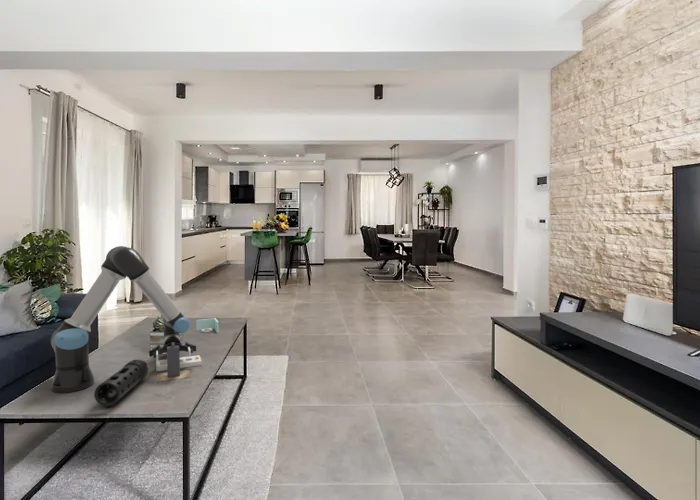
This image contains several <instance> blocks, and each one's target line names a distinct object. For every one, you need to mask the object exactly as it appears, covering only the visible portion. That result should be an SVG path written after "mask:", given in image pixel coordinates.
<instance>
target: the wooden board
mask: <svg viewBox="0 0 700 500" xmlns="http://www.w3.org/2000/svg"><path fill="white" fill-rule="evenodd" d="M187 378H192V374H191V371H190V369H184V370H180V376H176V377H169V378H168V375H167V372H162V373H156V384H157V383H159V382H163V383H164V382H166V381H169V382H171V381H173V380H177V379H179V380H180V379H183V380H184V379H187Z"/></svg>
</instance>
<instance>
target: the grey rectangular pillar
mask: <svg viewBox="0 0 700 500" xmlns="http://www.w3.org/2000/svg"><path fill="white" fill-rule="evenodd" d="M180 358H181V357H180V351H179V345H177V346H174V342H172V346H168V347H167V353H166V359H167V370H166V371H167V372H166V373H167V375H168V378H169V377H176V376H180V371H181V368H180Z"/></svg>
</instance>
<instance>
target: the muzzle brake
mask: <svg viewBox="0 0 700 500" xmlns="http://www.w3.org/2000/svg"><path fill="white" fill-rule="evenodd" d="M148 373H149V366H148V364H147V362H146V361H145V360H142V359H140V358H139V359H133V360H130V361H129V362H128V363H126V364H125V365H124V366H123V367H122V368H120V369H119V370H118V371H116V372H115V373H114V374H112V375H111V376H110V377H108V378H107V379H106V380H104V381H103V382H101V383H99V385H97V387H95V390H94V393H93V394H94V395H93V397H94V399H95V401H96V402H97V403H98V404H99V405H101V406H103V407H105V408H111V407H112V406H113V405H115V404H116V403H118V401H119V400H121V399H122V398H123V397H124V396H125V395H126V394H127V393H129V391H131V390H132V389H134V387H135V386H136V385H137V384H138V383H140V382H142V381H143V380H144V379H145V378H146V377H147V375H148Z"/></svg>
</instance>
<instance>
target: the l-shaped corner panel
mask: <svg viewBox="0 0 700 500" xmlns="http://www.w3.org/2000/svg"><path fill="white" fill-rule="evenodd" d="M195 321H196V322H195V323H196V332H199V331H200V330H201V331H200V333H201V332H202V334H203V333H204V334H209V333H212V332H213V330H214V331H215V333H216V334H219V333H220V325H219V324H220V323H219V321H218V319H217V318H216V317H215V318H206V319H205V318H203V319H196V320H195Z"/></svg>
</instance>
